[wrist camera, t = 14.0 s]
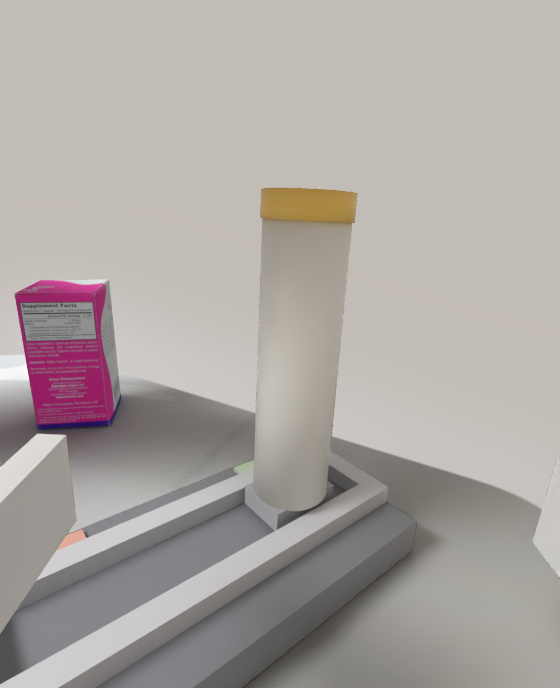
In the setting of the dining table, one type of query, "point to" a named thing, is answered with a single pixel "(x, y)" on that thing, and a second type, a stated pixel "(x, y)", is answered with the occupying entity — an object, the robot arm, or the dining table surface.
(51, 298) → the supplement box
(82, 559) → the switch panel
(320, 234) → the switch handle
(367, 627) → the dining table surface
